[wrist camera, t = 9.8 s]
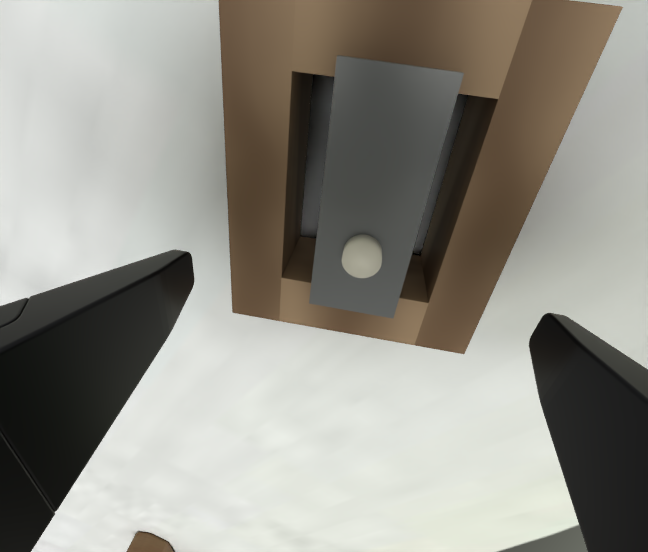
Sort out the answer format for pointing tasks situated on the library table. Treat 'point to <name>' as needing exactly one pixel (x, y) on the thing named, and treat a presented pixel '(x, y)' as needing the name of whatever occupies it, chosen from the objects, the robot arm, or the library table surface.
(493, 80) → the pocket plate
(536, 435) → the library table surface
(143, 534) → the wooden block set
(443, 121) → the block
